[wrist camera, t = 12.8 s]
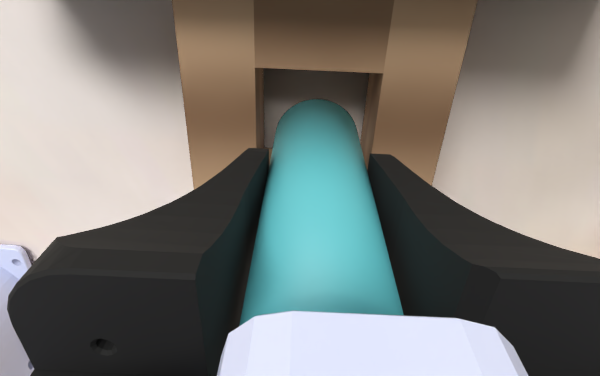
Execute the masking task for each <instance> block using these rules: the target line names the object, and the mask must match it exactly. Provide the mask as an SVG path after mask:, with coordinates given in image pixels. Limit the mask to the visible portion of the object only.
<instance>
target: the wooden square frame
mask: <svg viewBox="0 0 600 376" xmlns="http://www.w3.org/2000/svg"><path fill="white" fill-rule="evenodd" d="M477 2H478V0H172V6H173V15H174V23H175V32H176V40H177V49H178V57H179V66H180V74H181V83H182V91H183V100H184V108H185V117H186V126H187V134H188V143H189V151H190V160H191V168H192V177H193V185H194V190H195V189H196V188H198V187H200V186H201V185H203V184H204V183H205V182H207V181H208V180H210V179H211V178H212V177H214V176H215V175H217V174H218V173H219V172H221V171H222V170H223V169H224V168H226V167H227V166H228V165H229V164H230V163H231V162H233V161H234V160H235V159H236V158H237V157H238V156H240V155H241V154H242V153H243V152H244V151H245V150H247V149H248V148H263V149H269V165H270V160H271V154H272V149H273V148H264V74H263V68H276V69H298V70H319V71H341V72H363V73H370V74H369V81H368V89H367V97H366V104H365V112H364V119H363V127H362V135H361V142H360V145H361V149H362V153H363V156H364V160H365V164H366V168H367V169H368V163H369V156H370V153H372V154H391V155H392V156H394V157H395V158H396V159H398V160H399V161H400V162H402V163H403V164H404V165H405V166H407V167H408V168H409V169H410V170H412V171H413V172H414V173H415V174H417V175H418V176H419V177H420V178H422V179H423V180H424V181H426V182H427V183H428V184H430V185H431V186H432V182H433V178H434V174H435V170H436V166H437V162H438V158H439V154H440V150H441V146H442V142H443V138H444V134H445V130H446V126H447V122H448V118H449V114H450V110H451V106H452V102H453V98H454V94H455V90H456V86H457V82H458V78H459V74H460V70H461V66H462V62H463V58H464V54H465V50H466V46H467V42H468V38H469V34H470V30H471V26H472V22H473V18H474V14H475V10H476V6H477Z"/></svg>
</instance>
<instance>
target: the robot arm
mask: <svg viewBox="0 0 600 376" xmlns="http://www.w3.org/2000/svg"><path fill="white" fill-rule="evenodd" d="M268 171H269V149H263V148H248V149H247V150H245V151H244V152H243V153H242V154H241V155H240V156H238V157H237V158H236V159H235V160H234V161H233V162H231V163H230V164H229V165H228V166H227V167H226V168H224V169H223V170H222V171H221V172H219V173H218V174H217V175H215V176H214V177H212V178H211V179H210V180H208V181H207V182H205V183H204V184H203V185H201V186H200V187H198V188H196V189H195V190H193V191H191V192H190V193H188V194H186V195H184V196H182V197H181V198H179V199H177V200H175V201H173V202H171V203H169V204H166V205H164V206H162V207H159V208H157V209H155V210H152V211H150V212H148V213H145V214H143V215H140V216H137V217H134V218H131V219H128V220H125V221H122V222H119V223H115V224H112V225H109V226H105V227H101V228H97V229H93V230H89V231H84V232H80V233H76V234H71V235H67V236H62V237H57V238H56V239H55V240H54V241H53V242H52V243H51V244H50V245H49V247H48V248H47V249H46V250H45V251H44V252H43V253H42V254H41V256H40V257H39V258H38V259H37V260H36V261H35V262H34V264H33V265H31V262H30V260H29V258H28V255H27V253H26V251H25V249H23V248H22V247H20V246H17V245H3V244H0V376H600V259H598V258H595V257H591V256H587V255H584V254H580V253H576V252H573V251H569V250H566V249H562V248H559V247H556V246H553V245H550V244H547V243H544V242H542V241H539V240H536V239H533V238H530V237H528V236H525V235H522V234H520V233H517V232H515V231H512V230H510V229H508V228H505V227H503V226H501V225H499V224H496V223H494V222H492V221H490V220H488V219H486V218H484V217H482V216H480V215H478V214H476V213H474V212H472V211H470V210H469V209H467V208H465V207H463V206H461V205H460V204H458V203H456V202H455V201H453V200H452V199H450V198H449V197H447V196H446V195H444V194H443V193H441V192H440V191H438V190H437V189H435V188H434V187H432V186H431V185H430V184H428V183H427V182H426V181H424V180H423V179H422V178H420V177H419V176H418V175H417V174H415V173H414V172H413V171H412V170H410V169H409V168H408V167H407V166H405V165H404V164H403V163H402V162H400V161H399V160H398V159H396V158H395V157H394V156H392V155H391V154H372V153H370V156H369V163H368V169H367V172H368V176H369V180H370V184H371V188H372V192H373V196H374V200H375V204H376V208H377V211H378V215H379V219H380V223H381V227H382V231H383V235H384V239H385V243H386V247H387V251H388V255H389V259H390V263H391V266H392V270H393V274H394V278H395V282H396V286H397V290H398V294H399V298H400V302H401V306H402V310H403V314H404V315H382V314H360V313H338V312H316V311H294V310H292V311H285V312H278V313H271V314H263V315H258V316H255V317H253V318H251V319H250V320H248V321H247V322H245V323H244V324H242V325H241V326H239V324H240V319H241V314H242V308H243V303H244V298H245V292H246V287H247V282H248V276H249V271H250V266H251V260H252V255H253V250H254V245H255V239H256V234H257V229H258V223H259V218H260V213H261V207H262V202H263V197H264V191H265V187H266V181H267V176H268Z"/></svg>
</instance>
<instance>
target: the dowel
mask: <svg viewBox="0 0 600 376" xmlns="http://www.w3.org/2000/svg"><path fill="white" fill-rule="evenodd" d="M292 310H294V311H316V312H338V313H360V314H382V315H404V314H403V310H402V306H401V302H400V298H399V294H398V290H397V286H396V282H395V278H394V274H393V270H392V266H391V263H390V259H389V255H388V251H387V247H386V243H385V239H384V235H383V231H382V227H381V223H380V219H379V215H378V211H377V208H376V204H375V200H374V196H373V192H372V188H371V184H370V180H369V176H368V172H367V168H366V164H365V160H364V156H363V153H362V149H361V145H360V141H359V137H358V133H357V129H356V125H355V123H354V121H353V119H352V117H351V116H350V114H349V113H348V112H347V111H346V110H345V109H344V108H342V107H341V106H339V105H338V104H336V103H334V102H331V101H327V100H322V99H312V100H306V101H302V102H300V103H298V104H296V105H294V106H292V107H291V108H290V109H288V110H287V111H286V112H285V113H284V115H283V116H282V117H281V119H280V121H279V123H278V125H277V128H276V133H275V138H274V144H273V149H272V154H271V160H270V165H269V171H268V176H267V181H266V187H265V191H264V197H263V202H262V207H261V213H260V218H259V223H258V229H257V234H256V239H255V245H254V250H253V255H252V260H251V266H250V271H249V276H248V282H247V287H246V292H245V298H244V303H243V308H242V314H241V319H240V324H239V326H241V325H242V324H244V323H245V322H247V321H248V320H250V319H251V318H253V317H255V316H258V315H263V314H271V313H278V312H285V311H292Z"/></svg>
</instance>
